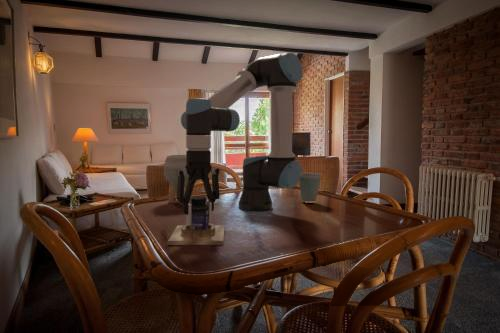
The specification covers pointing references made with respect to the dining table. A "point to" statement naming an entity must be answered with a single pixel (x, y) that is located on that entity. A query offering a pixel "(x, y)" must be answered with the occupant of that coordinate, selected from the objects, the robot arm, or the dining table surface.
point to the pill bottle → (199, 214)
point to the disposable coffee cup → (309, 186)
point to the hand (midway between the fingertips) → (198, 222)
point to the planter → (175, 173)
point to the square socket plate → (197, 236)
